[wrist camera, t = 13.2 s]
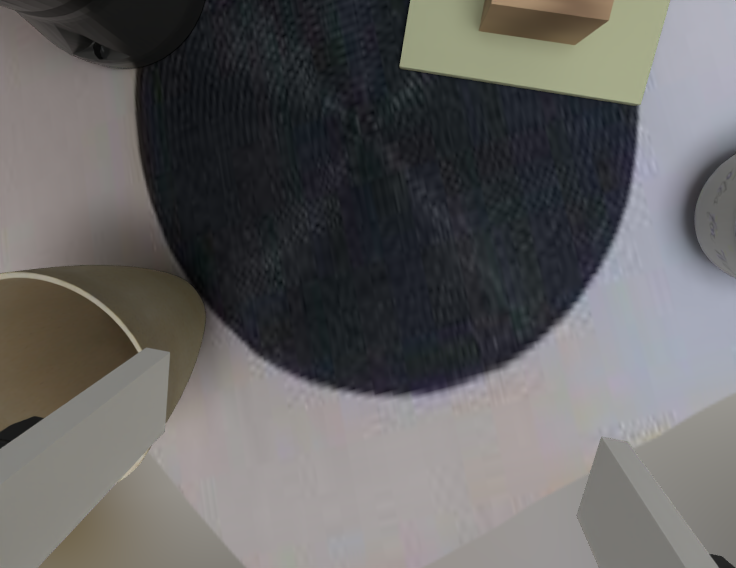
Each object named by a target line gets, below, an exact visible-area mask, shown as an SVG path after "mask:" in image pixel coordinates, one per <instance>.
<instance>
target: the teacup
mask: <svg viewBox="0 0 736 568" xmlns="http://www.w3.org/2000/svg"><path fill="white" fill-rule="evenodd" d="M695 231H696V235H697V239H698V242H699V244H700V246H701V248H702V250H703V252H704V253H705V255H706V256H707V257H708V258H709V260H710V261H711V262H712V263H713V264H714V265H716V266H717V267H718V268H719V269H720V270H722V271H724V272H725V273H727V274H729V275H731V276H733V277H735V278H736V154H735V155H733V156H732V157H731V158H729V159H728V160H726V161H725V162H724V163H723V164H721V165H720V166H719V167H718V168H717V169H716V170H715V172H714V173H713V174H712V175H711V176H710V177H709V179H708V180H707V182H706V183H705V185H704V187H703V189H702V191H701V193H700V195H699V198H698V201H697V205H696V209H695Z"/></svg>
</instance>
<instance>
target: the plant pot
mask: <svg viewBox="0 0 736 568" xmlns="http://www.w3.org/2000/svg"><path fill="white" fill-rule="evenodd" d="M205 322H206V313H205V308H204V304H203V302H202V299H201V298H200V296H199V294H198V293H197V291H196V290H195V289H194V288H193V287H192V286H191V285H190V284H189V283H188V282H187V281H185V280H184V279H182V278H180V277H177V276H175V275H172V274H169V273H165V272H161V271H156V270H152V269H145V268H138V267H129V266H114V265H78V266H62V267H51V268H41V269H32V270H23V271H15V272H6V273H0V432H1V431H2V430H4V429H5V428H7V427H8V426H10V425H12V424H14V423H17V422H20V421H22V420H25V419H28V418H30V417H33V416H37V417H42V418H45V417H47V416H48V415H50V414H51V413H53V412H54V411H56V410H57V409H58V408H60V407H61V406H63V405H64V404H66V403H67V402H68V401H70V400H71V399H73V398H74V397H76V396H77V395H79V394H80V393H81V392H83V391H84V390H86V389H87V388H89V387H90V386H92V385H93V384H94V383H96V382H97V381H99V380H100V379H102V378H103V377H104V376H106V375H107V374H109V373H110V372H112V371H113V370H115V369H116V368H117V367H119V366H120V365H122V364H123V363H125V362H126V361H128V360H129V359H130V358H132V357H133V356H135V355H136V354H138V353H139V352H140V351H142V350H143V349H145V348H152V349H157V350H162V351H167V352H170V362H169V377H168V392H167V407H166V422H167V421H168V419H169V417H170V416H171V414H172V412H173V410H174V409H175V407H176V405H177V403H178V401H179V399H180V397H181V395H182V393H183V391H184V389H185V387H186V385H187V383H188V380H189V378H190V376H191V373H192V371H193V368H194V365H195V363H196V360H197V357H198V354H199V350H200V347H201V343H202V339H203V334H204V329H205ZM166 422H165V424H166ZM150 448H151V447H150ZM150 448H149V449H150ZM149 449H148V450H147V451H146V452H145V453H144V454H143V455H142V456H141V457H140V458H139V459H138V461H137V462H136V463H135V464H134V465H133V466H132V467H131V468H130V469H129V470H128V471H127V472H126V473H125V474H124V476H123V477H122V478H121V479H120V480H119V481H121V480H123V479H124V478H125V477H127V476H128V475H129V474H130V473H132V472H133V471H134V470H135V469H136V467H137V466H138V465H139V464H140V463H141V461H142V460H143V459H144V457H145V455H146V454H147V452H148V451H149ZM119 481H118V482H119ZM118 482H117V483H118Z"/></svg>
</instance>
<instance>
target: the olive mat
mask: <svg viewBox="0 0 736 568" xmlns="http://www.w3.org/2000/svg"><path fill="white" fill-rule="evenodd" d="M484 2H485V0H410V6H409V12H408V18H407V24H406V30H405V36H404V42H403V48H402V54H401V60H400V66H399V67H400V69H406V70H412V71H418V72H424V73H431V74H437V75H443V76H450V77H456V78H462V79H469V80H475V81H481V82H488V83H494V84H500V85H507V86H513V87H519V88H526V89H532V90H538V91H544V92H551V93H557V94H563V95H570V96H576V97H582V98H589V99H595V100H601V101H608V102H614V103H620V104H627V105H633V106H637V105H641V101H642V98H643V94H644V91H645V87H646V84H647V80H648V77H649V73H650V70H651V66H652V63H653V59H654V56H655V52H656V48H657V45H658V41H659V38H660V34H661V31H662V27H663V24H664V20H665V17H666V13H667V10H668V6H669V3H670V0H614V2H613V6H612V10H611V14H610V18H609V21H608V22H606V23H605V24H603V25H602V26H601V27H599V28H598V29H596V30H595V31H594V32H592V33H591V34H590V35H588V36H587V37H585V38H584V39H583V40H581V41H580V42H579V43H577V44H576V45H570V44H563V43H556V42H549V41H542V40H536V39H529V38H522V37H515V36H508V35H501V34H495V33H488V32H481V31H479V27H480V22H481V17H482V12H483V7H484Z"/></svg>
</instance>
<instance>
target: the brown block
mask: <svg viewBox="0 0 736 568" xmlns="http://www.w3.org/2000/svg"><path fill="white" fill-rule="evenodd" d="M613 2H614V0H485V2H484V7H483V12H482V17H481V22H480V27H479V31H481V32H488V33H495V34H501V35H508V36H515V37H522V38H529V39H536V40H542V41H549V42H556V43H563V44H570V45H576V44H577V43H579V42H580V41H581V40H583V39H584V38H585V37H587V36H588V35H590V34H591V33H592V32H594V31H595V30H596V29H598V28H599V27H601V26H602V25H603V24H605V23H606V22H608V21H609V18H610V14H611V10H612V6H613Z"/></svg>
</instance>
